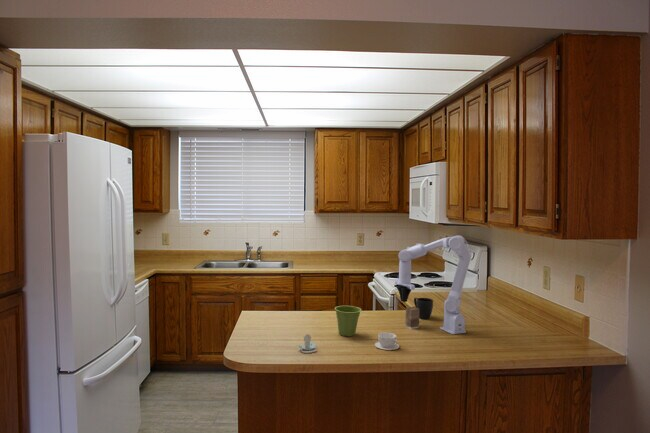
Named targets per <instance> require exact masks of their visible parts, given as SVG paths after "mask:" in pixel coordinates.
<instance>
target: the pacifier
mask: <svg viewBox="0 0 650 433" xmlns="http://www.w3.org/2000/svg"><path fill="white" fill-rule="evenodd" d="M303 341H304V345H300V344H298V345H297V346H298V347H299V348H301V351H300V352H301V353H304V354H311V353H315V352H317V350H318V349H317V348H316V347H317V343H316V342H311V341H312V337H311V334H308V333H306V334H304V336H303Z"/></svg>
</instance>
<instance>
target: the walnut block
mask: <svg viewBox="0 0 650 433" xmlns="http://www.w3.org/2000/svg"><path fill="white" fill-rule="evenodd" d="M405 327H406V328H409V329H410V330H412V329H413V330H414V329H419V328H420V318H419V309H418V308H416V307H415V306H405Z"/></svg>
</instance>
